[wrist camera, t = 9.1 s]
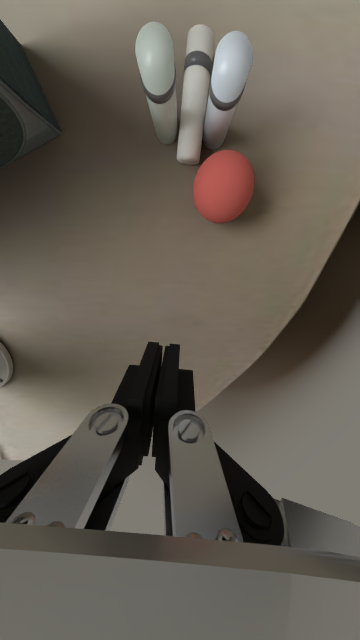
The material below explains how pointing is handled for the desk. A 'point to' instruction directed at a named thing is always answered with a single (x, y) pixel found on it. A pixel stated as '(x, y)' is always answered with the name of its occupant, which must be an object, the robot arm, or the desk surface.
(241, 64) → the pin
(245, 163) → the ball
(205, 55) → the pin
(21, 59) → the cassette player
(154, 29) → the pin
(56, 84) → the desk surface
